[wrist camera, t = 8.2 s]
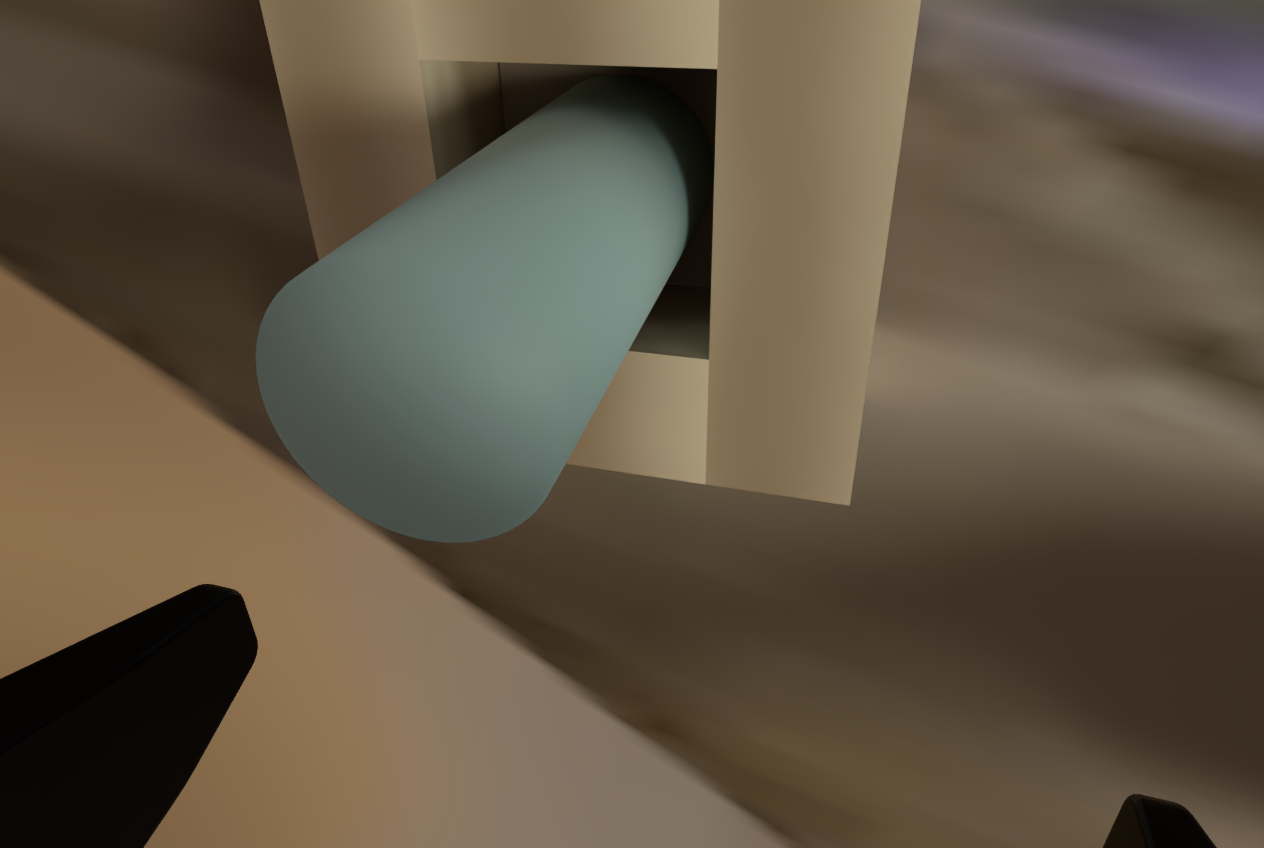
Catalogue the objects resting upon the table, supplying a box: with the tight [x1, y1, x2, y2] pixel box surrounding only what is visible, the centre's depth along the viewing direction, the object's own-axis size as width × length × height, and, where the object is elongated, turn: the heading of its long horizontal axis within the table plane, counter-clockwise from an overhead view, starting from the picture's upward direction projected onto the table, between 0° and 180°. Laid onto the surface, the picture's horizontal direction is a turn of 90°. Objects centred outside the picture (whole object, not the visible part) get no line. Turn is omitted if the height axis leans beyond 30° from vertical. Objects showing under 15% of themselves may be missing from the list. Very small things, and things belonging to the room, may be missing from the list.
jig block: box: [259, 0, 921, 506], centre depth 16 cm, size 10×10×4 cm
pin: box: [256, 74, 714, 543], centre depth 13 cm, size 4×4×9 cm
